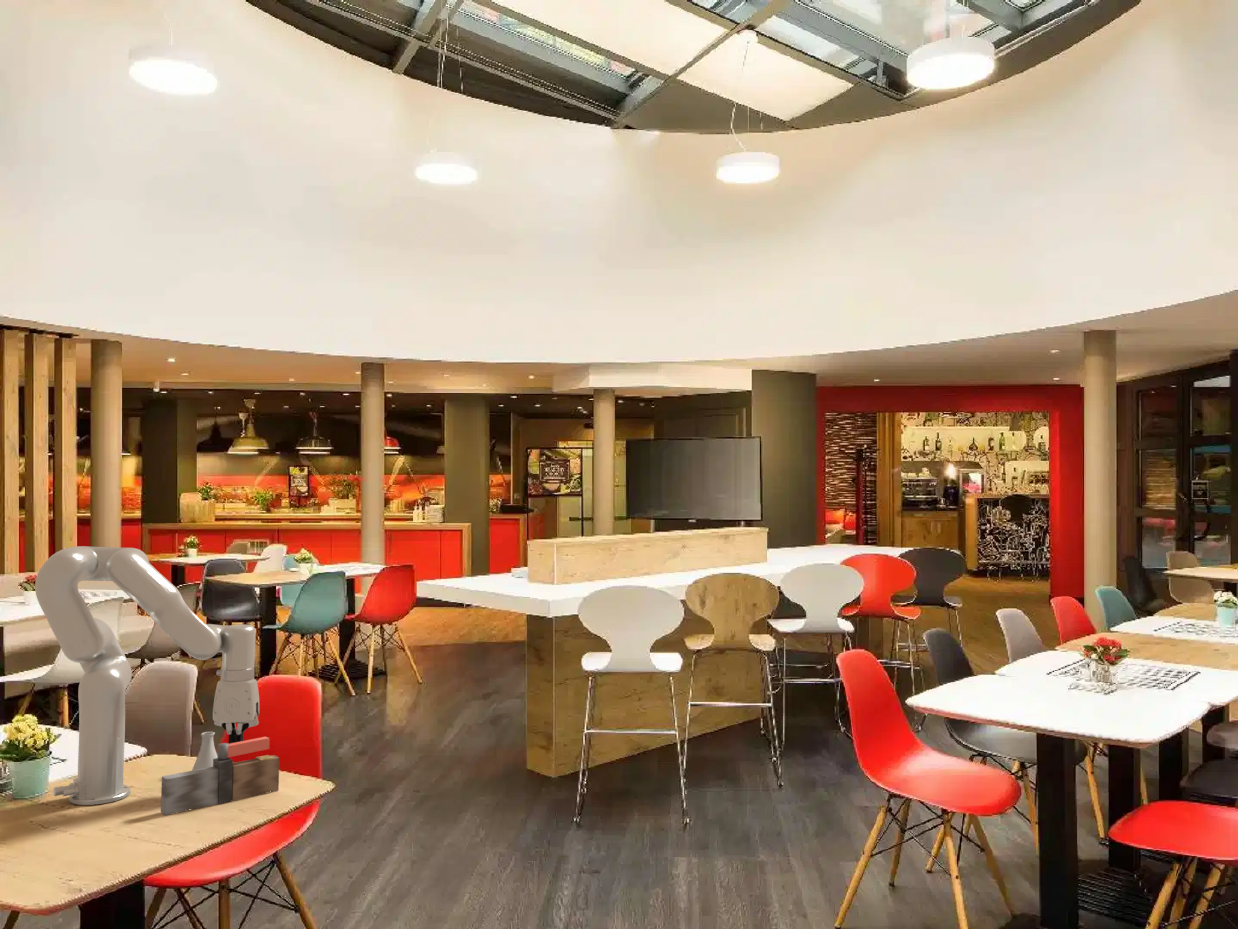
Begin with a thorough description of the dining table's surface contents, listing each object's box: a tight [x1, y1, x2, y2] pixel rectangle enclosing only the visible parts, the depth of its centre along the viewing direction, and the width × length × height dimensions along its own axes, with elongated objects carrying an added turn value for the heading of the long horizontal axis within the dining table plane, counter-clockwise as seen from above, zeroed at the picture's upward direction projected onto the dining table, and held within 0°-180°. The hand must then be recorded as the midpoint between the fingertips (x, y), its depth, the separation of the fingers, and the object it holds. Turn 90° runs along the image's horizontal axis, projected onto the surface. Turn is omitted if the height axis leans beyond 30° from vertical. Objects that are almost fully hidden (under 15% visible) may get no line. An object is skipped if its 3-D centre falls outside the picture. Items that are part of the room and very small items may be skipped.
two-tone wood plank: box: [160, 754, 280, 817], centre depth 215 cm, size 26×4×10 cm, turn 134°
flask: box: [191, 731, 218, 771], centre depth 238 cm, size 7×7×10 cm
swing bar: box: [217, 736, 271, 760], centre depth 219 cm, size 12×2×3 cm, turn 139°
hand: (235, 749), depth 227 cm, fingers closed
